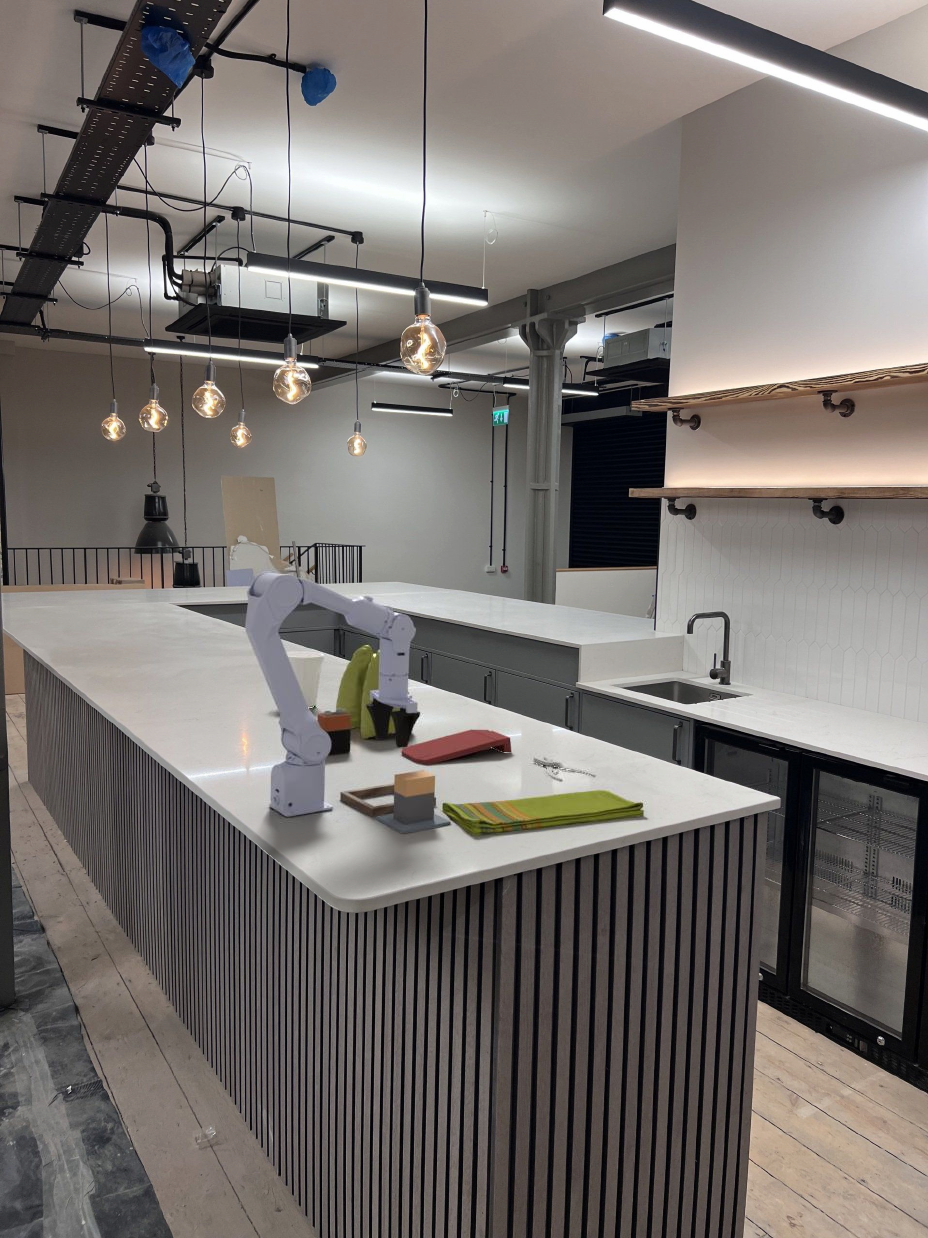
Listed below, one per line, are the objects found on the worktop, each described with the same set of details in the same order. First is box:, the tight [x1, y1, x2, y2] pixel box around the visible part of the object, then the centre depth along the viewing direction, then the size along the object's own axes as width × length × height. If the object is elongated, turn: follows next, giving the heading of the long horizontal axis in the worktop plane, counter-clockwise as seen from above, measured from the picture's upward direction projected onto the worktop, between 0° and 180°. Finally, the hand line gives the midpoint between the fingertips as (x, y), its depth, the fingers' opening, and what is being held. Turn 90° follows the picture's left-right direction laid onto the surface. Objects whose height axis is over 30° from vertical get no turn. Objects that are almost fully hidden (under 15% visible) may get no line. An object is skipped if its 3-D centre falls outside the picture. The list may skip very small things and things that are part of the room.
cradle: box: [339, 782, 437, 818], centre depth 169 cm, size 14×12×2 cm
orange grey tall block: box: [393, 770, 436, 825], centre depth 158 cm, size 6×4×8 cm, turn 126°
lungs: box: [335, 644, 411, 740], centre depth 230 cm, size 25×16×24 cm, turn 32°
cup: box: [286, 651, 325, 707], centre depth 257 cm, size 12×12×15 cm
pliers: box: [533, 756, 597, 782], centre depth 197 cm, size 10×2×15 cm
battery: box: [316, 708, 352, 756], centre depth 205 cm, size 4×7×10 cm, turn 126°
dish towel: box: [441, 789, 645, 837], centre depth 166 cm, size 15×36×3 cm, turn 114°
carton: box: [401, 729, 512, 765], centre depth 209 cm, size 12×5×25 cm
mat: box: [375, 813, 452, 835], centre depth 159 cm, size 10×9×1 cm
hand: (391, 742), depth 173 cm, fingers open, 7 cm apart
